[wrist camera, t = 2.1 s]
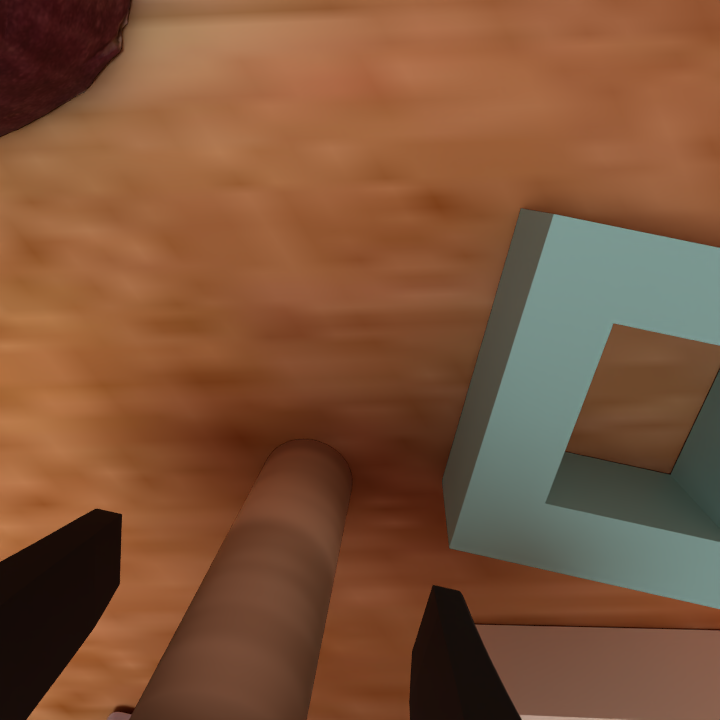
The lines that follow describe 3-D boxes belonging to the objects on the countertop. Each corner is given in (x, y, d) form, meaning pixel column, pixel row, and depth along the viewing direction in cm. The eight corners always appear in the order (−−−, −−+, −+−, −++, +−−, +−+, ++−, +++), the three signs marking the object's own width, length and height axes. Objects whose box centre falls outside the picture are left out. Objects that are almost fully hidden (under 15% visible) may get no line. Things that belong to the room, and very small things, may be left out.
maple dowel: (343, 526, 16) (283, 829, 8) (258, 506, 16) (121, 790, 8) (360, 450, 15) (308, 715, 7) (269, 430, 15) (127, 673, 7)
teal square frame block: (706, 539, 15) (776, 622, 12) (442, 480, 15) (449, 548, 12) (845, 274, 12) (978, 300, 9) (520, 208, 12) (553, 214, 9)
